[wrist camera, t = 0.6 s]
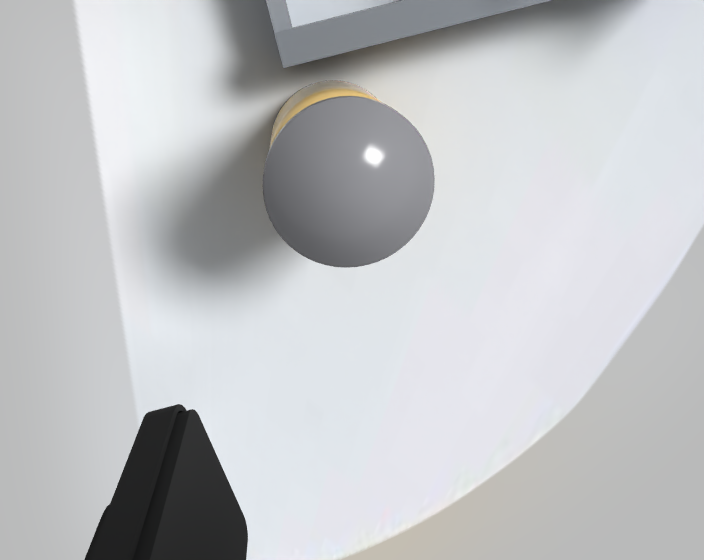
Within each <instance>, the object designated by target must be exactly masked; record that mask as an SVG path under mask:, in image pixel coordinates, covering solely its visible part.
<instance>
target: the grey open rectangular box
mask: <svg viewBox="0 0 704 560" xmlns="http://www.w3.org/2000/svg"><path fill="white" fill-rule="evenodd" d="M547 1H551V0H401V1H397V2H393V3H389V4H385V5H381V6H377V7H373V8H369V9H365V10H361V11H357V12H353V13H349V14H345V15H341V16H337V17H334V18H330V19H326V20H322V21H318V22H314V23H310V24H306V25H302V26H298V27H294V28H292V24H291V20H290V16H289V12H288V8H287V4H286V0H266V3H267V7H268V10H269V14H270V18H271V22H272V26H273V29H274V35H275V39H276V42H277V46H278V50H279V54H280V57H281V61H282V65H283V68H286V67H290V66H294V65H298V64H302V63H306V62H310V61H314V60H318V59H322V58H326V57H330V56H334V55H337V54H341V53H345V52H349V51H353V50H357V49H361V48H365V47H369V46H373V45H377V44H381V43H385V42H389V41H393V40H397V39H401V38H405V37H409V36H413V35H417V34H421V33H425V32H429V31H432V30H436V29H440V28H444V27H448V26H452V25H456V24H460V23H464V22H468V21H472V20H476V19H480V18H484V17H488V16H492V15H496V14H500V13H504V12H508V11H512V10H516V9H520V8H524V7H527V6H531V5H535V4H539V3H543V2H547Z"/></svg>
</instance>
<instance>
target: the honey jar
mask: <svg viewBox="0 0 704 560" xmlns="http://www.w3.org/2000/svg"><path fill="white" fill-rule="evenodd" d="M434 179H435V178H434V167H433V163H432V159H431V155H430V153H429V150H428V147H427V145H426V143H425V142H424V140H423V138H422V136H421V135H420V133H419V132H418V131H417V129H416V128H415V127H414V126H413V125H412V124H411V123H410V122H409V121H408V120H407V119H406V118H405V117H403V116H402V115H401V114H400V113H398V112H397V111H396V110H394V109H393V108H391V107H389V106H387V105H386V104H384V103H382V102H381V101H380V100H378V99H377V98H376V97H375V96H373V95H372V94H371V93H369V92H368V91H367V90H365V89H363V88H362V87H360V86H358V85H355V84H353V83H349V82H345V81H337V80H329V81H321V82H317V83H314V84H311V85H308V86H306V87H304V88H302V89H301V90H299V91H298V92H296V93H295V94H294V95H293V96H292V97H290V98H289V99H288V101H287V102H286V103H285V104H284V105H283V107H282V108H281V110H280V111H279V113H278V115H277V117H276V119H275V122H274V125H273V129H272V134H271V141H270V149H269V152H268V155H267V159H266V163H265V169H264V175H263V195H264V201H265V206H266V210H267V212H268V215H269V218H270V220H271V222H272V224H273V226H274V227H275V229H276V231H277V232H278V233H279V235H280V236H281V237H282V239H283V240H284V241H285V242H286V243H287V244H288V245H289V246H290V247H292V248H293V249H294V250H295V251H297V252H298V253H300V254H301V255H303V256H305V257H306V258H308V259H311V260H313V261H315V262H318V263H321V264H324V265H329V266H334V267H358V266H364V265H369V264H372V263H375V262H378V261H380V260H382V259H385V258H387V257H389V256H390V255H392V254H394V253H395V252H397V251H398V250H399V249H401V248H402V247H403V246H404V245H406V244H407V243H408V242H409V241H410V240H411V239H412V238H413V236H414V235H415V234H416V233H417V231H418V230H419V229H420V227H421V225H422V224H423V222H424V220H425V218H426V216H427V214H428V212H429V209H430V206H431V202H432V198H433V193H434Z"/></svg>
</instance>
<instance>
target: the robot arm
mask: <svg viewBox="0 0 704 560" xmlns="http://www.w3.org/2000/svg"><path fill="white" fill-rule="evenodd" d="M247 542H248V533H247V525H246V521H245V518H244V515H243V513H242V511H241V509H240V506H239V504H238V502H237V500H236V497H235V495H234V493H233V491H232V489H231V486H230V484H229V482H228V480H227V477H226V475H225V473H224V471H223V469H222V466H221V464H220V462H219V460H218V457H217V455H216V453H215V451H214V449H213V446H212V444H211V442H210V440H209V437H208V435H207V433H206V431H205V428H204V426H203V424H202V422H201V420H200V417H199V415H198V414H197V412H196V411H195V410H193V409H192V410H188V411H186V409H185V408H184V407H183V406H182V405H180V404H178V405H174V406H170V407H166V408H163V409H159V410H155V411H151V412H148V413H146V415H145V416H144V418H143V421H142V424H141V426H140V429H139V431H138V434H137V436H136V439H135V442H134V444H133V447H132V449H131V452H130V454H129V457H128V460H127V462H126V465H125V467H124V470H123V472H122V475H121V478H120V480H119V483H118V485H117V488H116V490H115V493H114V496H113V498H112V501H111V503H110V505H108V506H107V508H106V509H105V511H104V513H103V515H102V517H101V519H100V522H99V524H98V527H97V529H96V532H95V535H94V537H93V540H92V542H91V545H90V547H89V550H88V552H87V555H86V557H85V560H246V554H247Z"/></svg>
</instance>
